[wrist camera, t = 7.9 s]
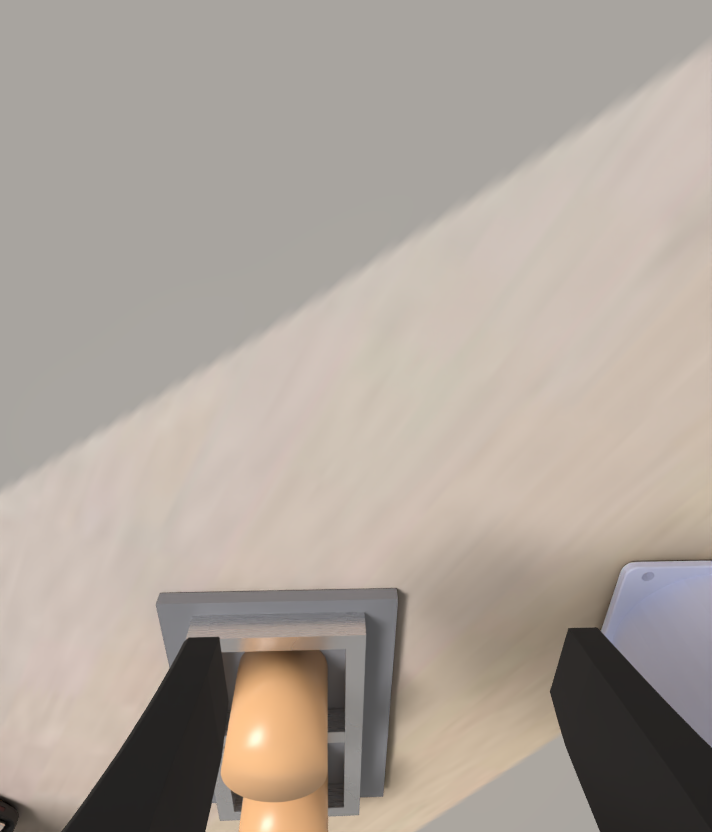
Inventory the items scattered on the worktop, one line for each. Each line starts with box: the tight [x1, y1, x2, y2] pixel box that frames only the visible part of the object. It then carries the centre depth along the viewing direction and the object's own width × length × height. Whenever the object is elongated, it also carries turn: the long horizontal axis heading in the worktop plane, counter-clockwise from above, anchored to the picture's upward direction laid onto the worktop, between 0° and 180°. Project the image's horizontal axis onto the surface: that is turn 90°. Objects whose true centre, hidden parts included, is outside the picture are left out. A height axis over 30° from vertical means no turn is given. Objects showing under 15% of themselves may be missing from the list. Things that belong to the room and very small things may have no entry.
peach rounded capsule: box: [221, 650, 328, 802], centre depth 22 cm, size 4×4×4 cm
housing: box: [156, 588, 398, 832], centre depth 24 cm, size 10×15×5 cm, turn 179°
